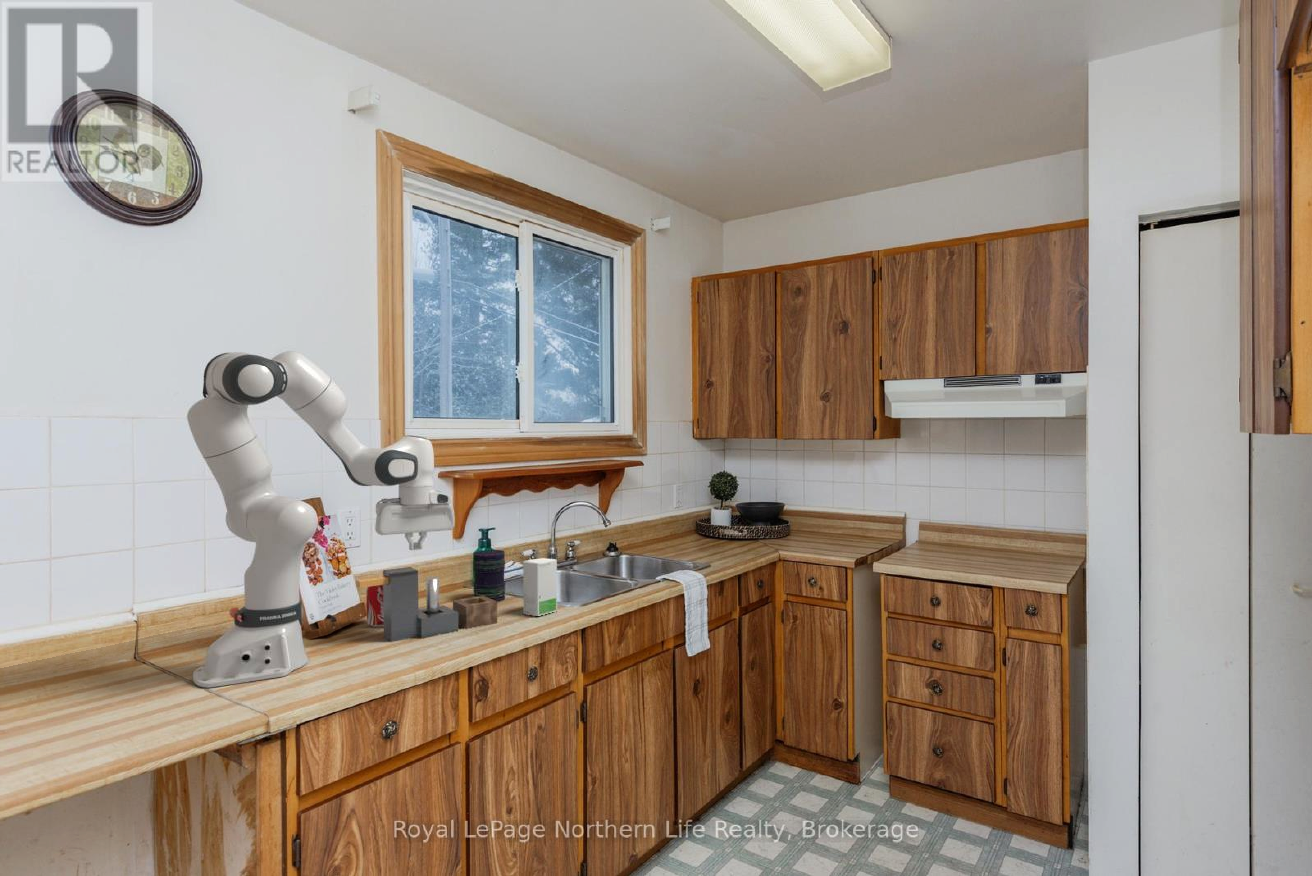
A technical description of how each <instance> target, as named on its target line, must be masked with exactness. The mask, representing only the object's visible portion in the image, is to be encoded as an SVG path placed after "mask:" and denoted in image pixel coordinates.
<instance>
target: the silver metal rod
mask: <svg viewBox="0 0 1312 876" xmlns="http://www.w3.org/2000/svg"><path fill="white" fill-rule="evenodd" d="M439 581H440V578H439V577H436V576H434V577H427V578H426V579H425V582H426V583H425V589H426V591H425V592H426V608H427V615H431V614H436V613H439V606H440V589H439V588H440V587H439V585H440V584H439V583H440V582H439Z"/></svg>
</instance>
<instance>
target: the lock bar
mask: <svg viewBox="0 0 1312 876" xmlns="http://www.w3.org/2000/svg"><path fill="white" fill-rule="evenodd" d="M384 584H389V577H388V576H386V577H383V576H381V577H380V576H379V577H372V578H364V579H358V580H357V579H356V587H358V588H360V589H362V588H368V587H370V586H377V585H384Z"/></svg>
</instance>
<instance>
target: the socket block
mask: <svg viewBox="0 0 1312 876" xmlns="http://www.w3.org/2000/svg"><path fill="white" fill-rule="evenodd" d="M386 576H388V577H389V584H384V585H383V611H384V627H383V638H385V639H387V640H388V641H390V642H391V643H392V642H393V643H394V642H397V641H398V642H399V641H402V640H403V639H404V640H407V639H408V638H409V639H414V638H420V639H425V638H429V637H436V636H439V635H438V634H441V635H445V634H451V633H455V632H454V631H456V632H459V631H460V630H459V628H460V627H459V625H458V612H456V611H454V610H453V608H450V607H448V606H446V605H444V604H443V605H439V613H436V614H431V615H427V607H426V608H421V609H420V608H419V570H418V569H416V568H413V567H411V566H407V567H400V568H399V567H398V568H393V569H383V570H382V577H386ZM458 630H459V631H458ZM450 632H451V633H450ZM435 635H436V636H435Z"/></svg>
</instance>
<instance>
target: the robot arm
mask: <svg viewBox="0 0 1312 876" xmlns="http://www.w3.org/2000/svg"><path fill="white" fill-rule="evenodd" d="M202 397H203V398H202V399H200V400H198V401H196V402H195V403H193V405H192V406H191V407H190V408H189V410H188V411H187V415H186V418H187V422H188V427H189V429H190V431H191V435H192V437H193V439H194V442H195V445H196V446H197V449H198V450H199V452H200V454H201V455H202V458H203V459H204V461H205V463H206V465H207V466H208V469H209V471H210V472H211V473H212V475H213V477H214V480H215V481H216V482H217V484H218V487H219V489H220V491H221V494H222V497H223V501H224V504H225V508H226V515H225V523H226V527H227V528H228V530H229V531H230V532H231V533H232V534H234V535H235V536H236V537H238V538H239V539H242V540H243V541H245V542H246V541H247V542H249V543H251V542H252V543H255V548H254V549H255V550H254V554H253V557H252V561H251V563H250V565H249V566H248V567H247V568H246V570H245V571H244V577H243V578H244V579H243V580H244V581H243V583H244V584H243V585H244V592H243V593H244V606H243V607H241V608H240V609H239V608H238V607H232V608H230V610H229V616H230V617H231V618H233V620H234V621H233V622H234V626H232V627H231V628H230V629H228V631H226V632H225V633H223V635H221V636H220V637H218V638H217V639H216V640H215V641H214V642H212V643H211V644H210V646H209V647H208V649H207V652H206V655H205V658H204V659H205V660H204V665H203V666H200V667H198V668H196V669H195V670H194V671H193V673H192V682H193V683H194V684H195V685H197V686H199V687H201V688H206V689H207V688H215V687H223V686H228V685H234V684H241V683H248V682H254V681H261V680H268V679H273V678H274V679H275V678H280V677H285V676H287V675H289V674H290V673H292V672H293V671H295V670H297V669H299V668H301V667H303V666H305V665H307V663H308V662H309V658H308V656H307V652H306V647H305V644H304V640H303V634H302V633H303V632H302V625H303V619H304V618H303V614H304V613H303V603H302V601H301V600H300V580H301V579H300V578H301V577H300V571H301V564H302V559H303V555H304V552H305V549H306V547H307V543H308V542H309V540H310V539H311V538H312V537H313V536H314V535H315V533H316V531H317V529H318V524H319V517H318V513H317V512H316V511H317V510H315V509H314V507H313V506H312V505H311V504H309V503H307V502H305V501H303V500H300V499H298V498H296V497H292V496H291V497H290V496H279V494H278V493H277V492H276V491H275V488H274V486H273V482H272V477H271V473H272V470H273V463H272V462H271V459H270V458H269V456H268V455H267V452H266V450H265V448H264V446H263V445H262V442H261V441H260V439H259V437H258V435H257V434H256V432H255V430H254V428H253V426H252V424H251V423H250V420H249V417H248V408H249V406H254V405H260V404H262V403H265V402H267V401H269V400H271V399H273V398H275V397H277V398H279V399H280V400H282V401H283V402H284V403H285V404H286V405H287V407H289V408H290V409H291V410H292V411H293V413H295V414H296V415H297V416H298V417H300V419H302V420H303V422H305V423H306V424H307V425H308V426H309V427H310V428H311V429H312V430H313V431H314V432H315V433H316V435H317V436H318V437H319V439H321V440H322V441H323V442H324V443H325V445H326V446H327V447H328V448H329V449H330V450H331V451H332V452H333V453H334V455H336V456H337V457H338V460H339V461H341V463H342V465H343V467H344V470H345V472H346V474H347V476H348V478H349V479H350V480H351V482H353V483H354V484H355V485H357V486H361V487H371V486H375V487H393V486H397V485H398V497H392V498H381V500H379V501H377V503H376V504H375V514H376V519H375V526H374V528H375V532H376V533H377V534H378V535H380V536H387V535H400V534H401V535H403V534H404V538H405V539H406V541H407V542H408V548H409V550H410V551H418V550H419V551H420V550H422V549H423V543H424V542H425V540H426V538H427V537H428V532H429V533H432V532H440V531H441V532H442V531H452V530H454V528H455V524H456V517H455V511H454V506H453V505H452V504H451V503H452V501H453V497H452V495H449V494H447V493H443V492H441V491H437V490H435V484H434V483H435V482H434V481H433V479H434V478H433V474H434V471H435V454H434V447H433V443H432V441H431V440H430V439H428V438H427V437H422V436H418V435H403V436H402V437H401V439H399V440H398V441H396V442H394V443H393V444H391V445H389V446H386V447H384V448H373V447H369V446H367V445H364V444H363V443H361V442H360V441H359V440H358V439H357V437H356V436H355V435H354V434H353V433H352V432H351V431H350V430H349V428H348V427H347V426H346V425H345V424H344V422H343V419H342V418H343V417H344V415H345V414H346V412H347V407H348V401H347V400H348V399H347V397H346V395H345V393H344V392H343V391H342V389H341V388H340V387H339V386H338V385H337V384H336V382H335V381H334V380H333V379H332V378H331V377H330V376H329V375H328V374H327V373H326V372H325V371H324V370H323V369H322V368H320V367H319V366H318V365H317V364H316V363H314V361H312V360H311V359H309V358H308V357H306V356H305V355H303V354H302V353H300V352H298V351H295V350H294V351H293V350H290V351H289V350H287V351H283V352H281V353H279V354H277V355H275V356H274V357H273V358H272V359H270V358H268V357H263V356H260V355H256V354H251V353H247V352H242V351H237V352H236V351H235V352H224V353H220V354H217V355H215V356H214V357H212V358H211V359H210V360H209V361H208V362H207V364H206V366H205V369H204V373H203V387H202ZM415 533H418V536H420V537H419V539H418V540H417V541H416V542H414V541H413V538H414V534H415Z"/></svg>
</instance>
